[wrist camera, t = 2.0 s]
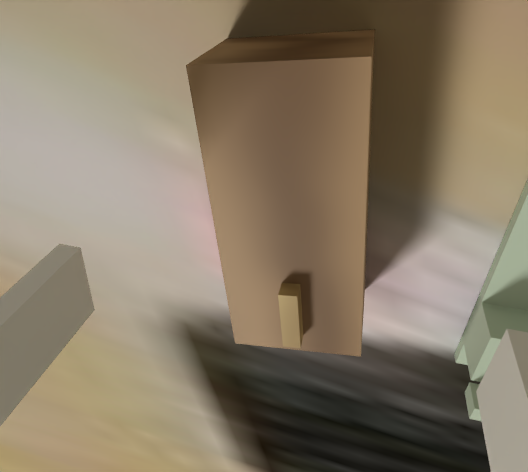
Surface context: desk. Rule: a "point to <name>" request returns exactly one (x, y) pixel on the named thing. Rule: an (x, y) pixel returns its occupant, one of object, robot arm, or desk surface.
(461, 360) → the carcass
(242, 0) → the desk surface
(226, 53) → the door
